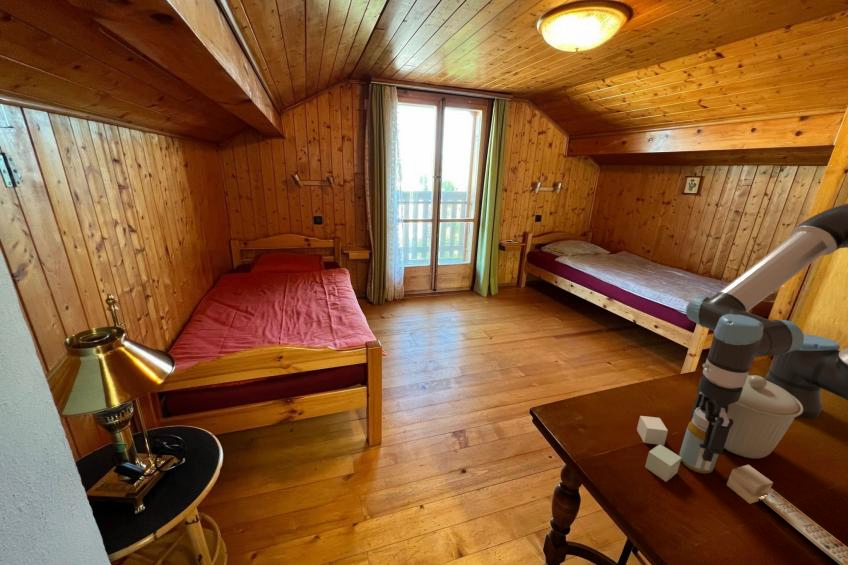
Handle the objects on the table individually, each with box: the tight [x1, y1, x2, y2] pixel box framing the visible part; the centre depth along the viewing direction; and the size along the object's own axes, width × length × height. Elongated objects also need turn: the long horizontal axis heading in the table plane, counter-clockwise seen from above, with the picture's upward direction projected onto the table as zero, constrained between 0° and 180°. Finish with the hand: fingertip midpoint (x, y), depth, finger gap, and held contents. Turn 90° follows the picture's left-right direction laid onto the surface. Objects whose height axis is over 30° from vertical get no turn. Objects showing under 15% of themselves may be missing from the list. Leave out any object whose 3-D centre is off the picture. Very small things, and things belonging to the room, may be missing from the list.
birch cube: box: [726, 464, 774, 504], centre depth 81 cm, size 5×5×5 cm
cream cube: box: [636, 415, 669, 446], centre depth 97 cm, size 5×5×5 cm
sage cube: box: [644, 444, 682, 483], centre depth 86 cm, size 5×5×5 cm
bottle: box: [678, 407, 719, 475], centre depth 86 cm, size 7×7×15 cm
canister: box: [723, 374, 803, 460], centre depth 92 cm, size 18×18×21 cm
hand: (696, 457), depth 88 cm, fingers closed on bottle, 6 cm apart
